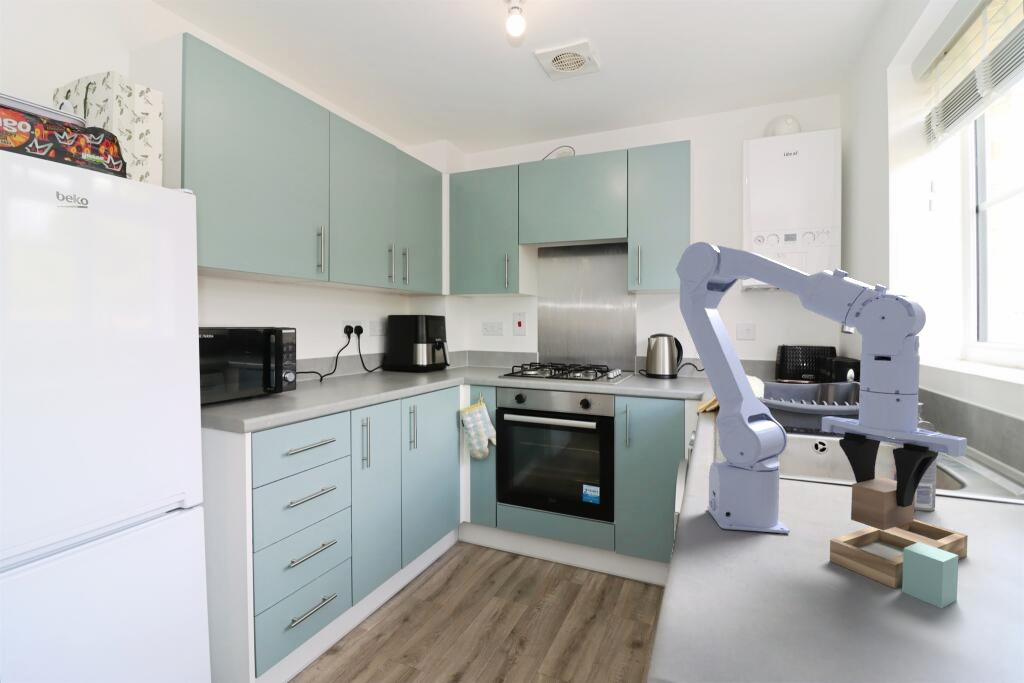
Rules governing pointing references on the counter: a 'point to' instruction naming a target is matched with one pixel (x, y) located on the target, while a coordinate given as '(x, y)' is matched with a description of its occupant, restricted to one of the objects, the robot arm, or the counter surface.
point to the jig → (891, 549)
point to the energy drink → (924, 487)
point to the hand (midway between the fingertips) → (884, 499)
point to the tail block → (930, 574)
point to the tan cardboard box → (879, 504)
